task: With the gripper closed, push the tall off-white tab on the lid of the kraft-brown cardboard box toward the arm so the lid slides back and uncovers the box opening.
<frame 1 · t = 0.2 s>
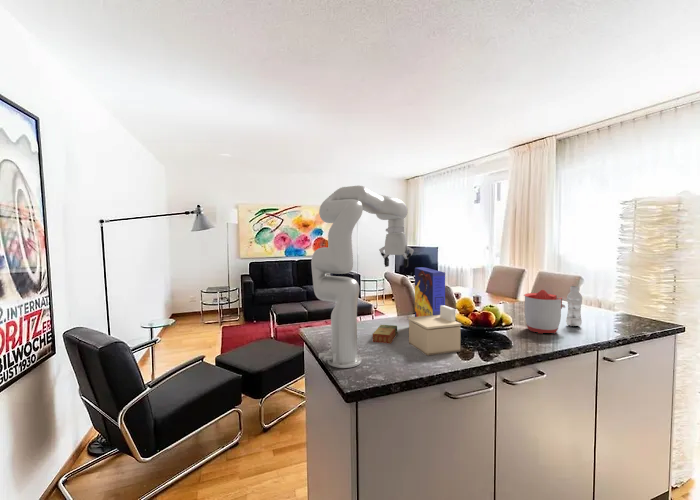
hand: (396, 266, 162), 31 cm above the counter, tool pointing down, fingers open, 9 cm apart
citrus juicer: (543, 331, 162), on the counter
cardboard box: (433, 347, 141), on the counter
box lid: (433, 315, 140), point 13 cm above the counter, slide at 0.0 cm
carton: (385, 338, 155), on the counter
cereal box: (428, 332, 163), on the counter
plastic bottle: (573, 327, 169), on the counter
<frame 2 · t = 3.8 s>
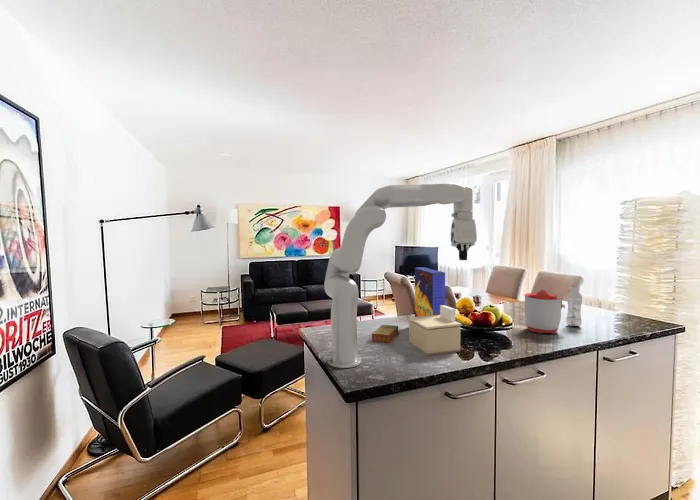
hand: (463, 259, 143), 36 cm above the counter, tool pointing down, fingers closed
nothing on the counter moved.
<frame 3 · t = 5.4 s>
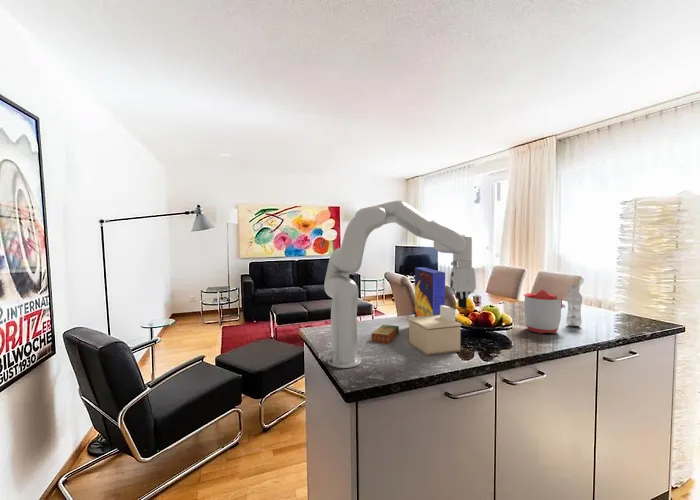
hand: (462, 307, 144), 16 cm above the counter, tool pointing down, fingers closed
nothing on the counter moved.
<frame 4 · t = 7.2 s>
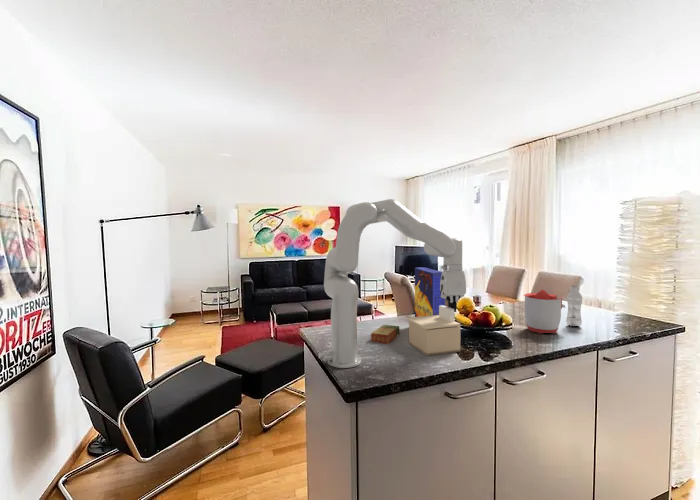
hand: (452, 311, 143), 14 cm above the counter, tool pointing down, fingers closed
box lid: (432, 315, 140), point 13 cm above the counter, slide at 0.6 cm, touching gripper
everything else where it was.
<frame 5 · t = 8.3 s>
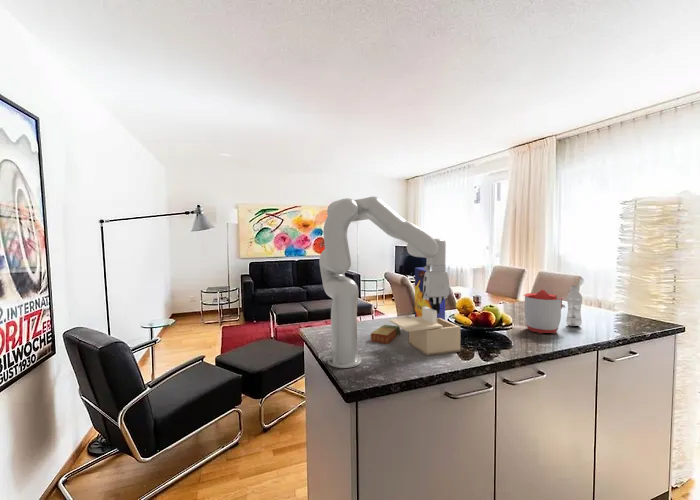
hand: (435, 312, 140), 14 cm above the counter, tool pointing down, fingers closed
box lid: (415, 317, 138), point 13 cm above the counter, slide at 8.6 cm, touching gripper
everything else where it was.
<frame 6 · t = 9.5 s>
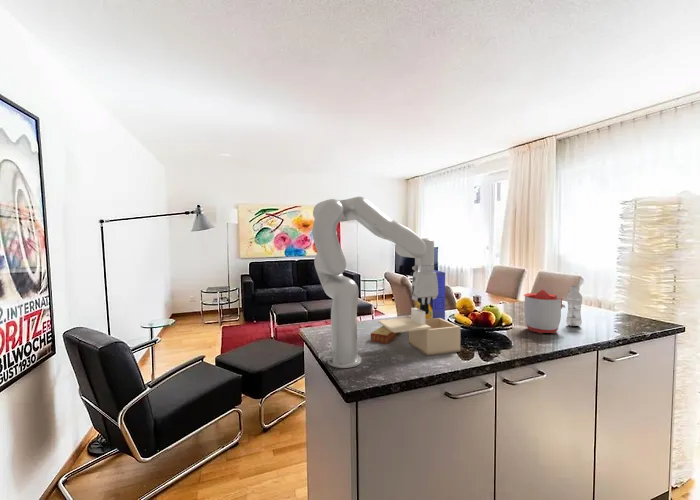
hand: (424, 313, 139), 15 cm above the counter, tool pointing down, fingers closed
box lid: (403, 318, 136), point 13 cm above the counter, slide at 13.7 cm, touching gripper
everything else where it was.
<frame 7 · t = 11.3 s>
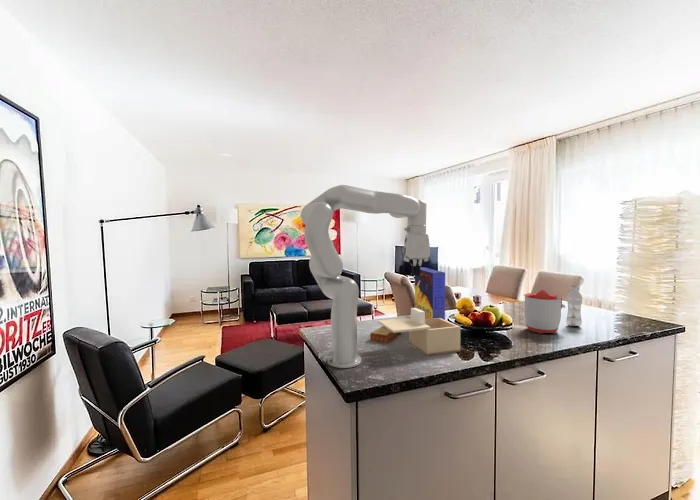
hand: (415, 275, 139), 30 cm above the counter, tool pointing down, fingers closed
box lid: (403, 318, 136), point 13 cm above the counter, slide at 13.9 cm
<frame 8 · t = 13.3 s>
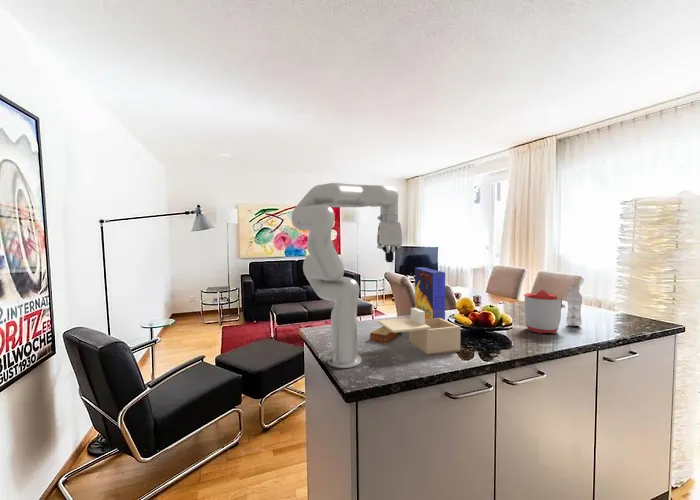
hand: (389, 261, 146), 35 cm above the counter, tool pointing down, fingers closed
at the end: box lid slide at 13.9 cm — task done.
